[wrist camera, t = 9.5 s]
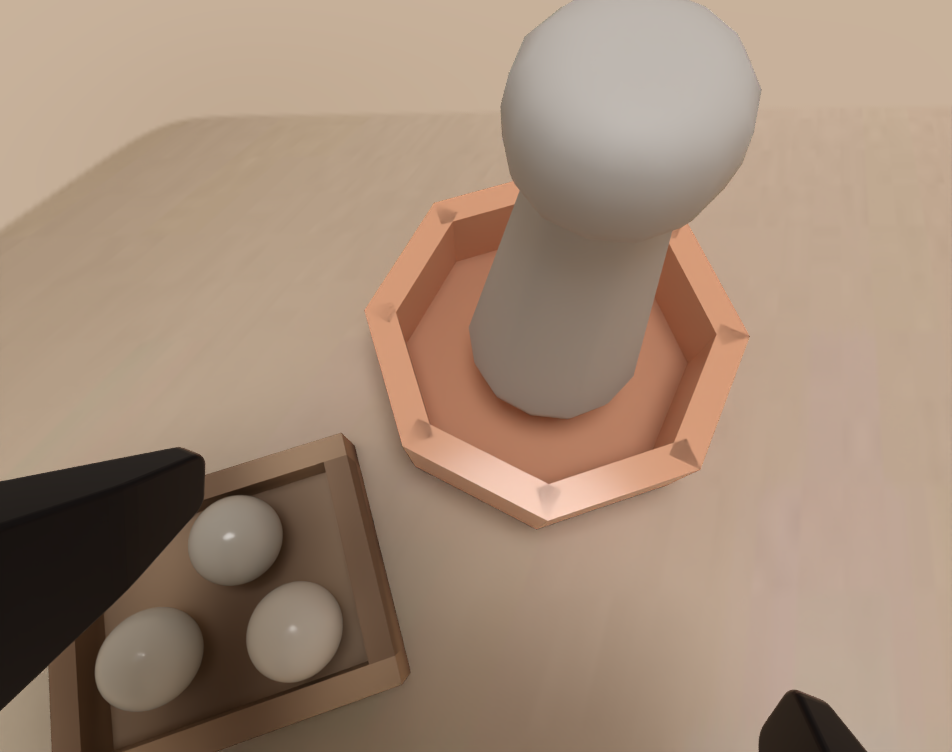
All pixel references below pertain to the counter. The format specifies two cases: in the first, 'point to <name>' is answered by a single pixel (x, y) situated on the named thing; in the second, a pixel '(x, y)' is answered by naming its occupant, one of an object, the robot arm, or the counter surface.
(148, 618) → the white ball
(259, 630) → the pebble
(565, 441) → the bowl
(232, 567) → the pebble
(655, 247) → the salt shaker
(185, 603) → the pebble tray
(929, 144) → the counter surface
